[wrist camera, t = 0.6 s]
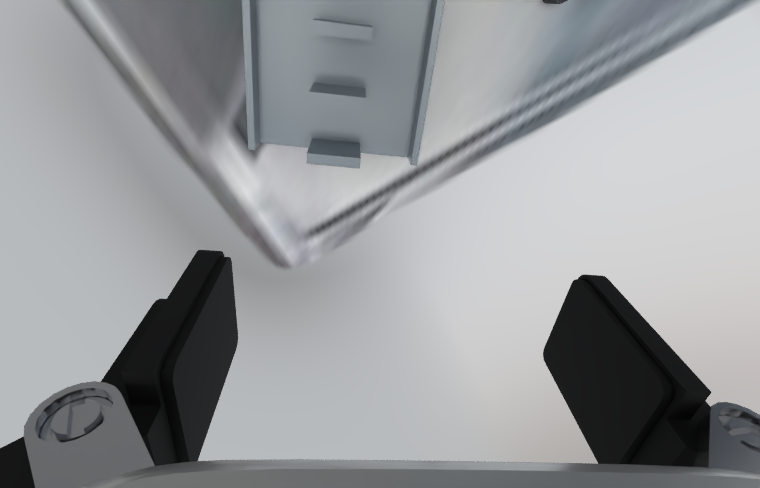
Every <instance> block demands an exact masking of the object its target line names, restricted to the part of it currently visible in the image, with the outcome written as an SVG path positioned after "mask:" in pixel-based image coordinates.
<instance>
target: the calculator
mask: <svg viewBox="0 0 760 488" xmlns="http://www.w3.org/2000/svg"><path fill="white" fill-rule="evenodd" d="M565 1H567V0H543V2H544V3H549V4H561V3H563V2H565Z"/></svg>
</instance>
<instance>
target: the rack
mask: <svg viewBox="0 0 760 488" xmlns="http://www.w3.org/2000/svg"><path fill="white" fill-rule="evenodd" d="M444 1H445V0H242V16H243V39H244V62H245V84H246V107H247V130H248V149H249V150H255V149H256V148H257V146H258V145H259V143H267V144H278V145H288V146H298V147H308V148H309V149H308V152H307V164H317V165H328V166H338V167H349V168H360V153H369V154H380V155H390V156H400V157H408V158H409V161H410V164H411V165H416V166H417V162H418V156H419V150H420V144H421V138H422V132H423V126H424V120H425V114H426V109H427V103H428V97H429V91H430V85H431V79H432V73H433V67H434V61H435V55H436V49H437V43H438V37H439V31H440V25H441V19H442V13H443V7H444Z"/></svg>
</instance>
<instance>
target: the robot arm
mask: <svg viewBox="0 0 760 488" xmlns="http://www.w3.org/2000/svg"><path fill="white" fill-rule="evenodd" d="M234 297H235V296H234V286H233V273H232V262H231V258H230V257H224V254H223V252H222V251H209V250H198V251H197V252H196V254H195V256H194V257H193V259H192V261H191V262H190V263H189V265H188V267H187V268H186V270H185V271H184V273H183V274H182V276H181V278H180V279H179V281H178V282H177V284H176V285H175V287H174V288H173V290H172V292H171V293H170V295H169V296H168V298H167V299H159V300H157V301H156V302H155V303H154V304H153V305H152V307H151V308H150V310H149V311H148V313H147V314H146V316H145V317H144V319H143V320H142V322H141V323H140V324H139V326H138V328H137V329H136V331H135V332H134V334H133V335H132V337H131V338H130V339H129V341H128V342H127V344H126V345H125V347H124V348H123V350H122V351H121V353H120V354H119V356H118V357H117V359H116V360H115V362H114V363H113V365H112V366H111V368H110V370H108V372H107V373H106V375H105V376H104V378H103V379H102V381H101V382H87V383H80V384H77V385H74V386H71V387H67V388H65V389H63V390H61V391H59V392H57V393H55V394H53V395H52V396H50V397H49V398H48V399H46V400H45V401H43V402H42V403H41V404H40V405H39V406H38V407H37V408H36V409H35V410H34V411H33V412H32V414H31V415H30V416H29V418H28V420H27V422H26V424H25V426H24V437H22V438H20V439H18V440H16V441H14V442H12V443H10V444H8V445H6V446H4V447H2V448H0V488H760V415H759V414H757V413H755V412H753V411H751V410H750V409H748V408H745V407H742V406H740V405H737V404H733V403H728V402H720V403H719V402H718V403H716V404H714V405H713V406H712V407H710V406H709V405H708V404H707V403H706V401H705V400H706V399H707V397H708V396H709V395H710V394H711V391H710V390H709V389H708V388H707V387H706V386H705V385H704V384H703V383H702V381H701V380H700V379H699V378H698V377H697V376H696V375H695V374H694V373H693V372H692V370H691V369H690V368H689V367H688V366H687V365H686V364H685V363H684V362H683V361H682V360H681V359H680V357H679V356H678V355H677V354H676V353H675V352H674V351H673V350H672V349H671V348H670V346H669V345H668V344H667V343H666V342H665V341H664V340H663V339H662V338H661V337H660V335H659V334H658V333H657V332H656V331H655V330H654V329H653V328H652V327H651V326H650V325H649V323H648V322H646V320H645V319H644V318H643V317H642V316H641V315H640V314H639V313H638V311H637V310H636V309H635V308H634V307H633V306H632V305H631V304H630V303H629V302H628V300H627V299H626V298H625V297H624V296H623V295H622V294H621V293H620V292H619V291H618V290H617V289H616V287H614V285H613V284H612V283H611V282H610V281H609V280H608V279H607V278H606V277H605V276H597V275H582V276H580V277H579V278H578V279H577V280H574V281H573V283H572V284H571V287H570V289H569V292H568V294H567V296H566V298H565V301H564V303H563V305H562V308H561V310H560V312H559V315H558V317H557V319H556V322H555V325H554V326H553V329H552V331H551V334H550V336H549V339H548V341H547V343H546V345H545V348H544V352H543V356H544V361H545V363H546V365H547V367H548V369H549V371H550V373H551V374H552V376H553V378H554V380H555V382H556V384H557V386H558V388H559V390H560V391H561V393H562V395H563V397H564V399H565V401H566V403H567V405H568V407H569V409H570V410H571V412H572V414H573V416H574V418H575V420H576V422H577V424H578V426H579V428H580V429H581V431H582V433H583V435H584V437H585V439H586V441H587V443H588V445H589V446H590V448H591V450H592V452H593V454H594V456H595V458H596V460H597V462H598V464H582V463H580V464H579V463H533V462H474V461H472V462H471V461H404V460H403V461H402V460H401V461H400V460H397V461H396V460H303V459H299V460H298V459H297V460H216V461H198V458H199V455H200V452H201V449H202V446H203V443H204V440H205V438H206V435H207V432H208V429H209V426H210V423H211V420H212V417H213V414H214V411H215V409H216V406H217V403H218V400H219V397H220V394H221V391H222V388H223V385H224V383H225V379H226V377H227V374H228V371H229V368H230V365H231V362H232V359H233V357H234V354H235V351H236V347H237V342H238V330H237V319H236V307H235V298H234Z"/></svg>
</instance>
